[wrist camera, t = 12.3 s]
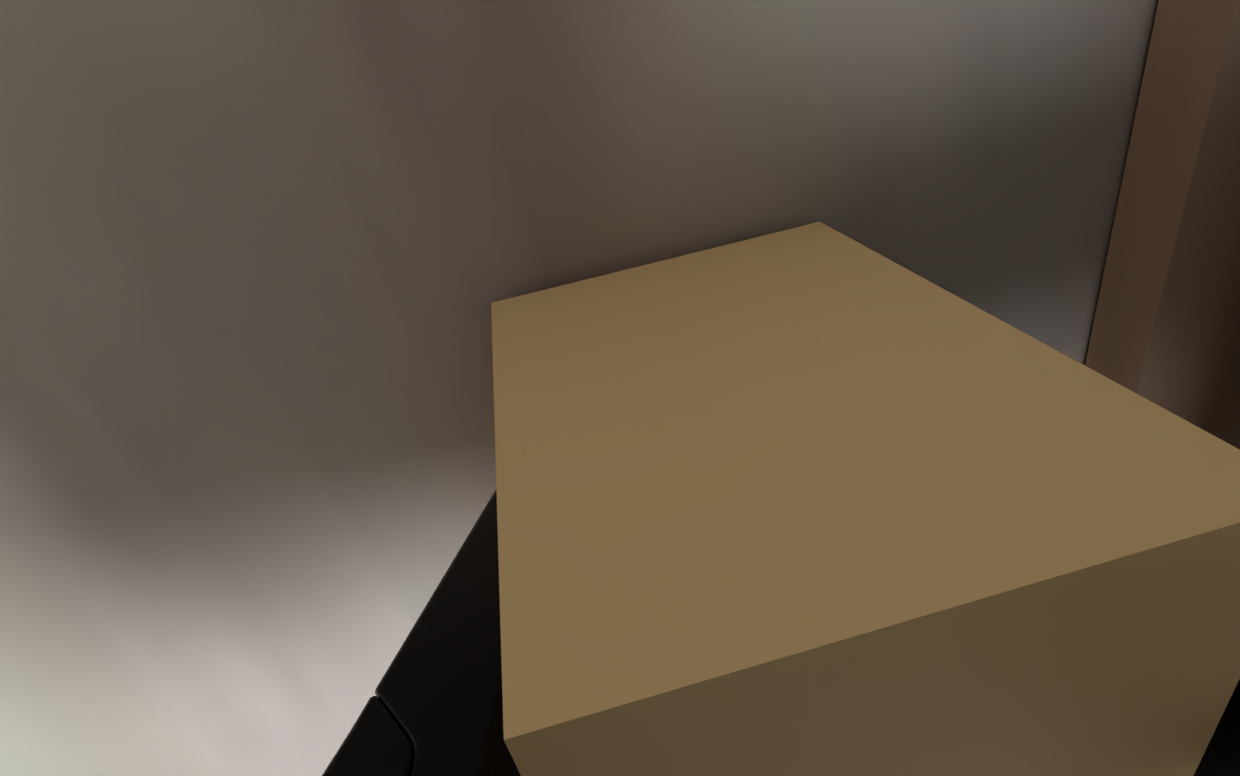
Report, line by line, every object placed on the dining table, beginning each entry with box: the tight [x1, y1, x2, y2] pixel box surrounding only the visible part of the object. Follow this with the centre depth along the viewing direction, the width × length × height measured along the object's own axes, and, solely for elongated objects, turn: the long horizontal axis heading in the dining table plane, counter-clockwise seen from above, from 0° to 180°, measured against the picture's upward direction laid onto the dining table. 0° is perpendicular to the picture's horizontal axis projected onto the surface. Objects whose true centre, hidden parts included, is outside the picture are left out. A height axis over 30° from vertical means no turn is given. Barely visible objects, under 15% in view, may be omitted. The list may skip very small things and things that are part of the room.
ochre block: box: [491, 222, 1240, 776], centre depth 7 cm, size 4×4×6 cm
